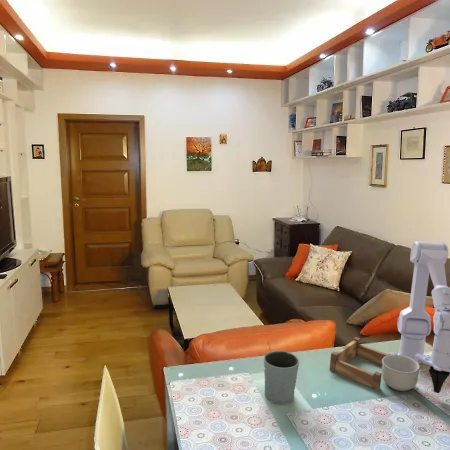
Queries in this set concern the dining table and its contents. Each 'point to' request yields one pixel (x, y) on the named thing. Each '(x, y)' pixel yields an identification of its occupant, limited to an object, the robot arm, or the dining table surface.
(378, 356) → the wooden frame
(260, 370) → the dining table surface
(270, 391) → the grey tumbler
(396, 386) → the teacup
